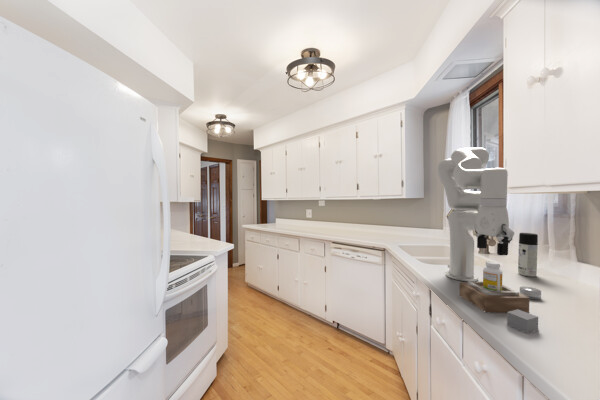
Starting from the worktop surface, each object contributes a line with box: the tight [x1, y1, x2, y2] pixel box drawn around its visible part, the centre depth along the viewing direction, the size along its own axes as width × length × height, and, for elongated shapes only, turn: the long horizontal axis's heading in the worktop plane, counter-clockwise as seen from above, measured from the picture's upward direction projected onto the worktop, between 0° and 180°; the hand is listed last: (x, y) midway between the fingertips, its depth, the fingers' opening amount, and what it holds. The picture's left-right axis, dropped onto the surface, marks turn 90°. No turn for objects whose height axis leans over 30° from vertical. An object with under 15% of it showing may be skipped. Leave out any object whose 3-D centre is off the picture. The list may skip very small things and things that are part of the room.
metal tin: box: [519, 286, 542, 301], centre depth 95 cm, size 6×6×3 cm
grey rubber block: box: [506, 309, 539, 334], centre depth 73 cm, size 5×5×4 cm
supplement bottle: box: [482, 260, 503, 291], centre depth 88 cm, size 5×5×10 cm
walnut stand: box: [458, 281, 530, 314], centre depth 89 cm, size 14×14×6 cm
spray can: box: [517, 232, 539, 278], centre depth 120 cm, size 7×7×20 cm
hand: (491, 251), depth 89 cm, fingers open, 9 cm apart
